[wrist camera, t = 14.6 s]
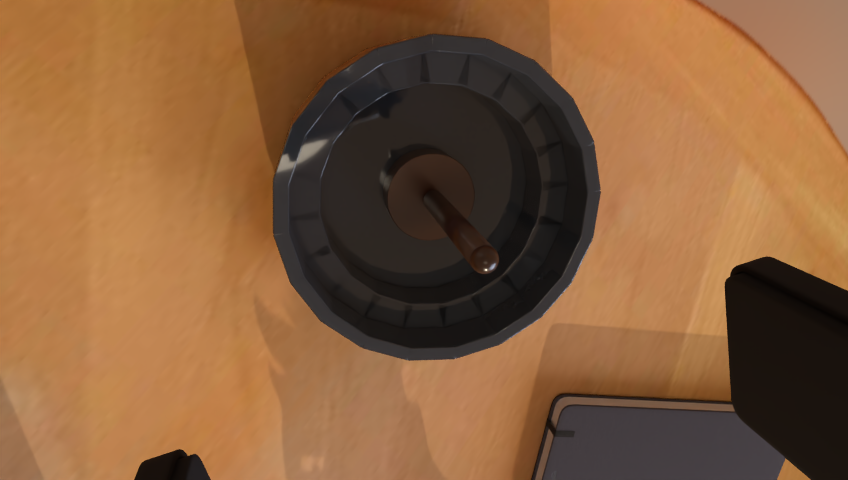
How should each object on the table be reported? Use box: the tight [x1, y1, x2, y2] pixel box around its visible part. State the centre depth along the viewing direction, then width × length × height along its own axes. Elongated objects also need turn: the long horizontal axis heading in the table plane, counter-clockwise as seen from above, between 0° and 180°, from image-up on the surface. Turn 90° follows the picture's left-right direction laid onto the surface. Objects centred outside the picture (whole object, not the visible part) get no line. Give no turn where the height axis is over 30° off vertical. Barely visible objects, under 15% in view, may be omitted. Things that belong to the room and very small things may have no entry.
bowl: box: [273, 34, 601, 361], centre depth 33 cm, size 18×18×6 cm
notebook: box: [532, 394, 785, 480], centre depth 46 cm, size 13×2×21 cm
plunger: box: [383, 148, 499, 274], centre depth 29 cm, size 5×5×13 cm
